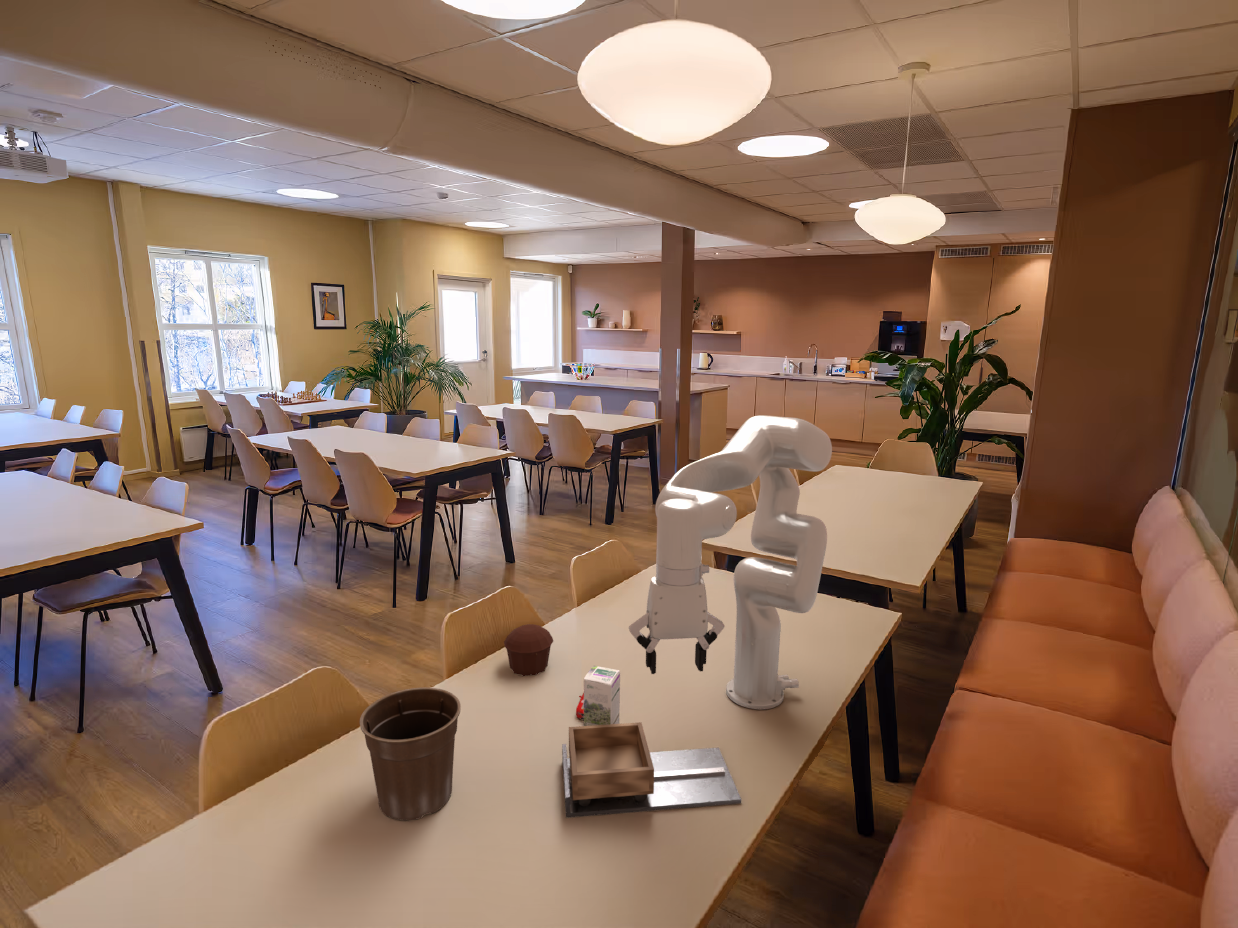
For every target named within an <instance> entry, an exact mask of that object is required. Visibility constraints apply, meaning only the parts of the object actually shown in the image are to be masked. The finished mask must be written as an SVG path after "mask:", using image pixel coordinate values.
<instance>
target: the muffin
mask: <svg viewBox="0 0 1238 928" xmlns="http://www.w3.org/2000/svg"><path fill="white" fill-rule="evenodd" d="M553 643H554V638H553V636H552V635H551V633H550V631H549V630H548V629H546V628H545V627H542V626H541V625H538V624H533V623H532V624H530V623H529V624H523V625H521V626H518V627H516V628H514V629H513V630H511V632H509V634H508V635H507V636H506V638H505V640H504V641H503V644H504V648H505V649H506V653H507V658H508V665H509V668H510V669H511V671H512V673H513V674H514V675H519V676H522V677H528V676H529V677H530V676H537V675H539V674H541V673H543V672H545V671H546V668H547V667H548V665H549V660H550V659H549V658H550V653H551V646H552V644H553Z"/></svg>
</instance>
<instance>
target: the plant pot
mask: <svg viewBox="0 0 1238 928" xmlns="http://www.w3.org/2000/svg"><path fill="white" fill-rule="evenodd" d="M461 708H462V706H461V701H460V699H459V698H458V696H456V695H455V694H453V693H452V692H450V691H449V690H445V689H441V688H437V687H414V688H413V687H412V688H407V689H403V690H398V691H396V692H392V693H389V694H387V695H385V696H382V697H380V698H378V699H377V700H375V701H374V702H372V703H371V704H370V705H369V706H367V707H366V708H365V710H364V711H363V712H362V714H361V715H360V718H359V726H360V727H359V728H360V730H361V732H362V734H364V739H365V744H366V748H367V749H368V751H369V754H370V760H371V765H372V771H373V777H374V784H375V791H376V795H377V802H378V803H377V804H378V806H379V808H380V810H381V813H382V814H384V815H385V816H386V817H388V818H390V819H393V820H397V821H398V820H399V821H412V820H420V819H421V818H423V817H424V816H425V815H428V814H435V813H436V812H438V811H439V810H440V809H442V808H443V807H444V806H445V805H446V804H447V803H448V801H449V800H450V797H451V795H452V793H453V792H452V791H453V774H454V773H453V772H454V761H455V760H454V758H455V743H456V742H455V740H456V734H457V731H458V718H459V716H460V713H461V710H462V709H461Z"/></svg>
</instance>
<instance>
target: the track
mask: <svg viewBox="0 0 1238 928" xmlns="http://www.w3.org/2000/svg"><path fill="white" fill-rule="evenodd" d="M561 745H562V747H561V750H562V751H561V753H562V754H561V755H562V759H561V760H562V761H561V763H562V776H563V777H562V779H563V794H564V795H563V796H564V808H565V818H566V819H567V818H568V819H569V818H578V817H579V818H580V817H591V816H593V817H594V816H604V815H615V814H616V815H617V814H628V813H629V814H630V813H639V812H641V813H642V812H654V811H663V810H665V811H666V810H676V809H677V810H678V809H688V808H702V807H712V806H713V807H714V806H725V805H737V804H742V797H741V796H740V793H739V791H738V788H737V785H736V783H735V781H734V779H733V777H732V774H731V773H730V772H731V771H729V767H728V766H727V765H728V764H726V761H725V759H724V757H723V754H722V752H721V750H720V747H705V748H692V749H678V750H676V749H675V750H667V751H666V750H665V751H663V750H662V751H651V752H650V751H649V752H650V756H651V759H652V763H653V767H654V794H647V798H646V800H645V801H643V802H638V801H637V800H636V799H635V795H632V796H619V797H606V798H594V799H590V804H589V805H587V806H581V805H580V804H579V801H578V800H573V796H572V783H571V771H570V758H569V757H568V753H567V743H562V744H561Z"/></svg>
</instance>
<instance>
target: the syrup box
mask: <svg viewBox="0 0 1238 928" xmlns="http://www.w3.org/2000/svg"><path fill="white" fill-rule="evenodd" d="M583 692H584V720H583V726H592V725H608V724H620V711H621V709H620V702H621V701H620V700H621V699H620V698H621V671H620V670H619V669H613V668H609V667H603V666H597V665H593V666H592V667H591V668H590V669H589V671H588V672H587V673H586V674H585V676H584V678H583Z"/></svg>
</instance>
